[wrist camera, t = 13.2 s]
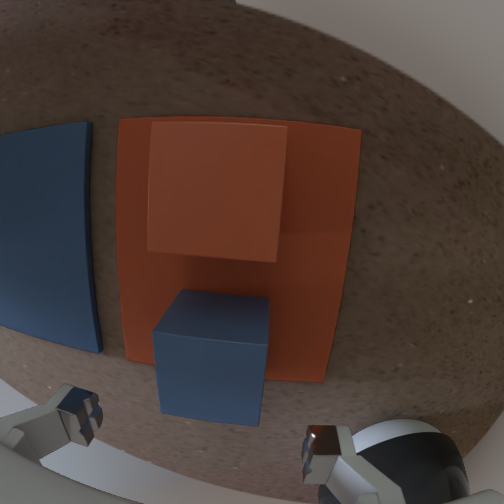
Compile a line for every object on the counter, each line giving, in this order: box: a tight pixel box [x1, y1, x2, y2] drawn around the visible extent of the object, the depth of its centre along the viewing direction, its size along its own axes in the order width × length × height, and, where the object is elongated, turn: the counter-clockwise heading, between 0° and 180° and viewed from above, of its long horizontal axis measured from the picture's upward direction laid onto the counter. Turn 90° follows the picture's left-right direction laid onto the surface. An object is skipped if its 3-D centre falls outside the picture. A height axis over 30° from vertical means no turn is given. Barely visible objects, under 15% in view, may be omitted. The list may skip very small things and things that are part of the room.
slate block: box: [152, 290, 270, 426], centre depth 15 cm, size 5×5×5 cm
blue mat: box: [0, 122, 103, 354], centre depth 17 cm, size 14×12×1 cm
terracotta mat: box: [116, 116, 362, 382], centre depth 16 cm, size 14×12×1 cm
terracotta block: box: [148, 121, 288, 263], centre depth 13 cm, size 5×5×5 cm
